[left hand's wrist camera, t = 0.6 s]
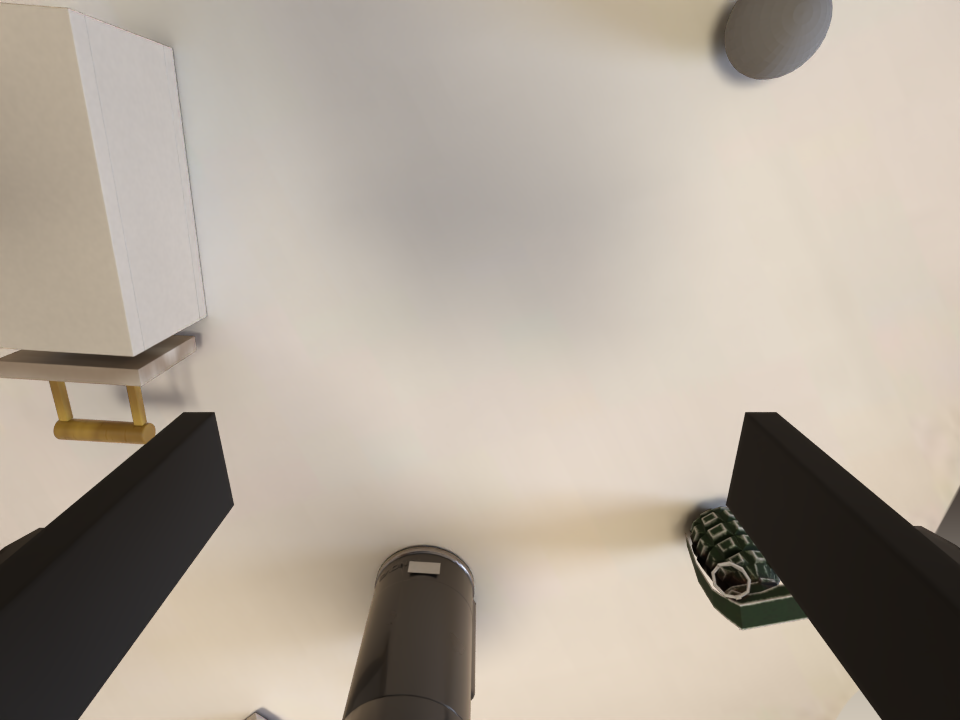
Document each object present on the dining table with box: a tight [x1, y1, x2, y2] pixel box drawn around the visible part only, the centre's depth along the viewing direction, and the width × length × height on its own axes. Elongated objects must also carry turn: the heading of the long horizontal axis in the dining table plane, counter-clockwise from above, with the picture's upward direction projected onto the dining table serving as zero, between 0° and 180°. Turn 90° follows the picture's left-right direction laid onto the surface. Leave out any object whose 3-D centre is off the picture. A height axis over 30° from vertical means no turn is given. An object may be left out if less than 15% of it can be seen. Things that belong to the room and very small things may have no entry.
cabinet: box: [0, 3, 207, 357], centre depth 32 cm, size 18×10×9 cm, turn 176°
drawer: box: [0, 335, 196, 444], centre depth 34 cm, size 22×9×7 cm, turn 176°
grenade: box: [685, 507, 808, 630], centre depth 41 cm, size 7×6×10 cm
